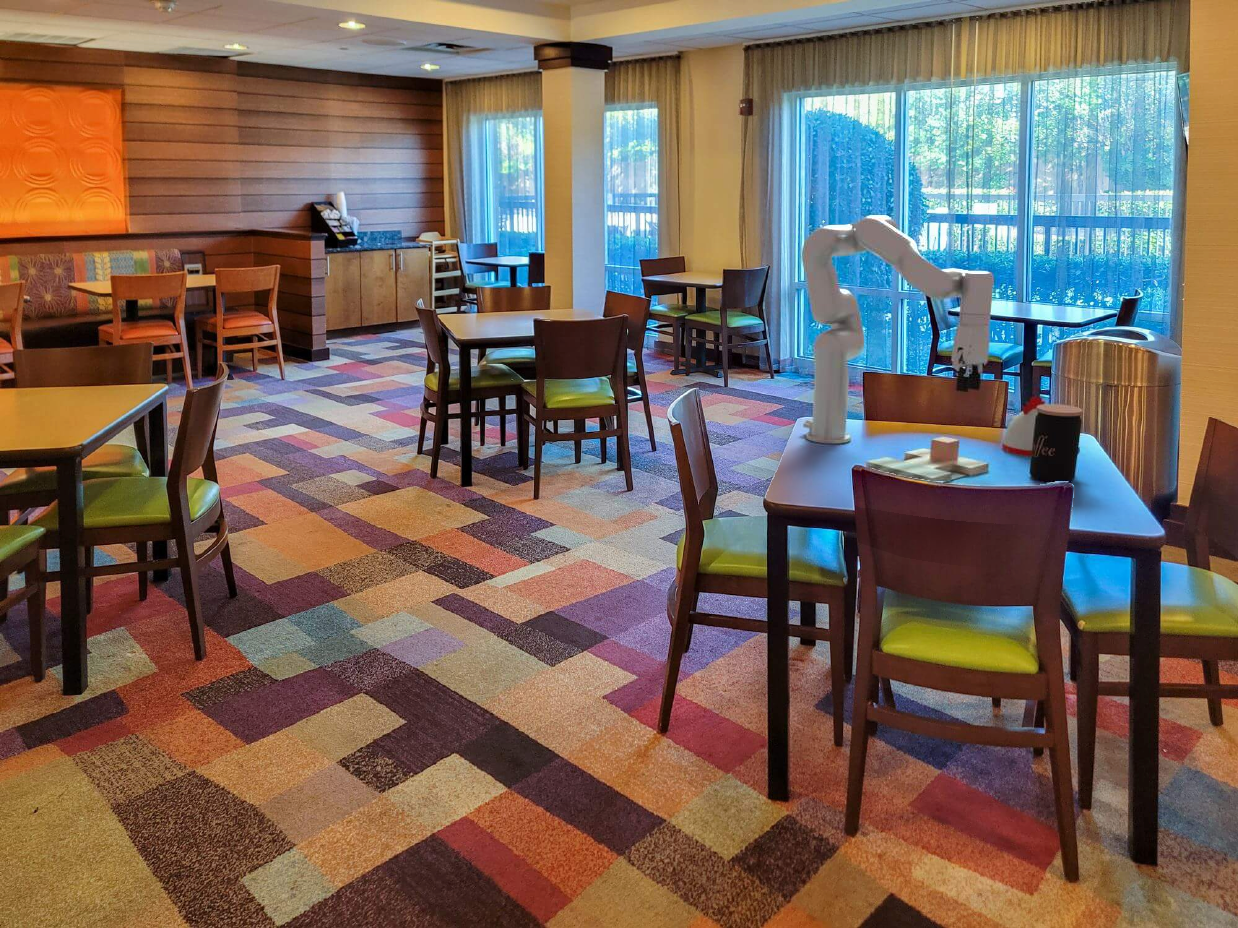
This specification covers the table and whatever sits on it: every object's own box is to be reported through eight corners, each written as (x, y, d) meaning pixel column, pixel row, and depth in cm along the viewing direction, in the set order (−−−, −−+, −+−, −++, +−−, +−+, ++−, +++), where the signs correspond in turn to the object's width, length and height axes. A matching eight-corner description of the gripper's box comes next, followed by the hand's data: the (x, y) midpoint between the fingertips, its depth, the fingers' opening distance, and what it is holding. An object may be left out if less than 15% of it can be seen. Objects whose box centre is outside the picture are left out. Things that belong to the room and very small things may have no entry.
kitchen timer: (1066, 452, 290) (1072, 399, 286) (1033, 458, 283) (1039, 404, 280) (1024, 442, 302) (1029, 391, 298) (991, 448, 295) (996, 395, 291)
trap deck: (865, 468, 271) (866, 461, 271) (922, 455, 286) (923, 448, 285) (931, 486, 256) (932, 478, 255) (988, 470, 270) (988, 463, 270)
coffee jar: (1021, 473, 268) (1028, 404, 264) (1061, 472, 269) (1069, 403, 264) (1040, 484, 258) (1049, 412, 253) (1082, 484, 259) (1091, 412, 254)
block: (929, 457, 275) (931, 439, 274) (941, 455, 278) (943, 436, 277) (946, 461, 271) (948, 442, 270) (957, 458, 274) (959, 440, 273)
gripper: (980, 316, 278) (973, 384, 283) (942, 321, 268) (936, 391, 273) (1005, 319, 273) (998, 388, 277) (968, 324, 262) (961, 396, 267)
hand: (967, 389), depth 275 cm, fingers open, 4 cm apart
